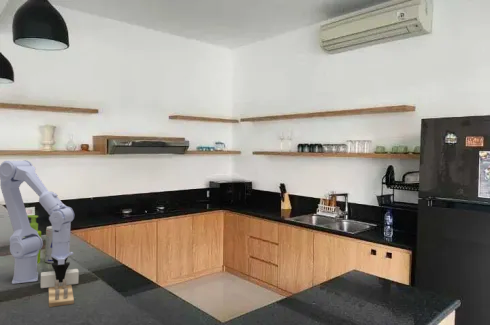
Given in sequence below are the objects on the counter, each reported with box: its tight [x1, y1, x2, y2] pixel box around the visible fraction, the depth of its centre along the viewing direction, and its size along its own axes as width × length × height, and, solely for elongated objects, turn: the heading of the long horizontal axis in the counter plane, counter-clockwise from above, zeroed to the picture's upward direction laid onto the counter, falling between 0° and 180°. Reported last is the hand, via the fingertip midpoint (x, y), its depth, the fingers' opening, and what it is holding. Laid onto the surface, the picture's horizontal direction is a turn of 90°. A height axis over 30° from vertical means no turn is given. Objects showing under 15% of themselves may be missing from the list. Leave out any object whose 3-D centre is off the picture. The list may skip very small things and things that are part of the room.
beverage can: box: [44, 225, 54, 264], centre depth 156 cm, size 6×6×15 cm
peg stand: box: [48, 279, 75, 308], centre depth 120 cm, size 14×7×4 cm, turn 29°
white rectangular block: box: [40, 268, 80, 289], centre depth 131 cm, size 12×4×4 cm, turn 119°
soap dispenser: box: [24, 214, 42, 265], centre depth 153 cm, size 6×7×20 cm
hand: (59, 278), depth 131 cm, fingers open, 7 cm apart
